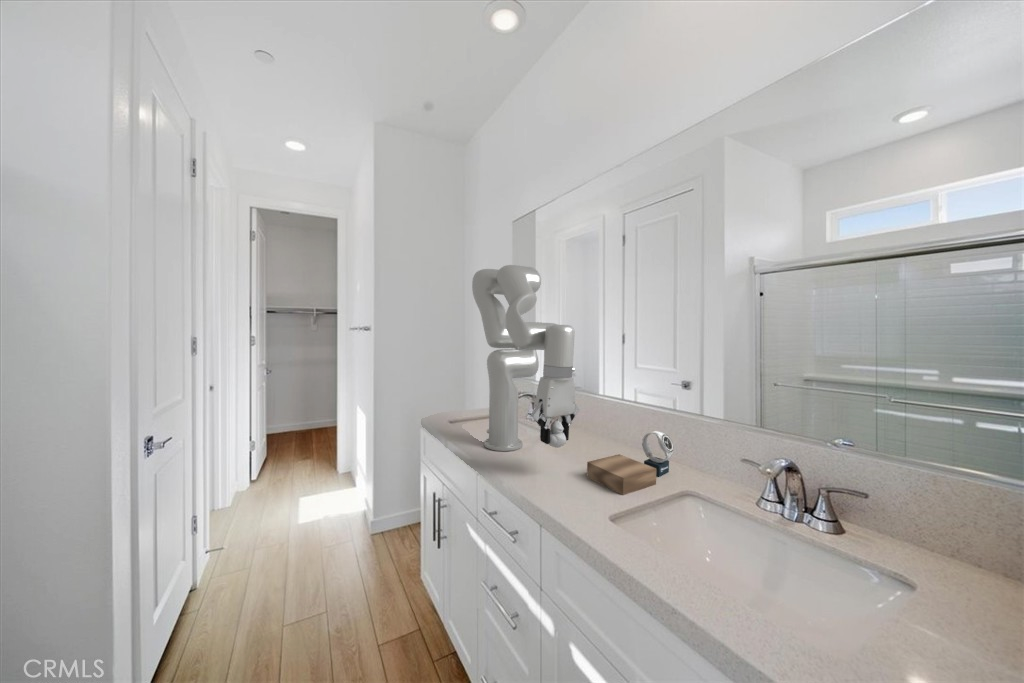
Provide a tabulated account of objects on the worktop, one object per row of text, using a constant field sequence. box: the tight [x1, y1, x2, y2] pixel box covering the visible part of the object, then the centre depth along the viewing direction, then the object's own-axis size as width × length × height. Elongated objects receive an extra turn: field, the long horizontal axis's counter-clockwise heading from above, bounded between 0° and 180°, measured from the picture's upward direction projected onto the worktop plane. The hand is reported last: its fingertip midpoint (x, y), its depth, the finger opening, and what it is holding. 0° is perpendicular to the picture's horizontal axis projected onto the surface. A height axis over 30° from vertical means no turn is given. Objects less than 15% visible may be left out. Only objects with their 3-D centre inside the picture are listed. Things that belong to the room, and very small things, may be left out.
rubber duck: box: [548, 416, 567, 448], centre depth 95 cm, size 5×7×8 cm
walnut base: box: [586, 454, 657, 496], centre depth 93 cm, size 12×12×4 cm
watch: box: [641, 430, 675, 478], centre depth 99 cm, size 6×8×11 cm
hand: (554, 439), depth 96 cm, fingers closed on rubber duck, 5 cm apart
